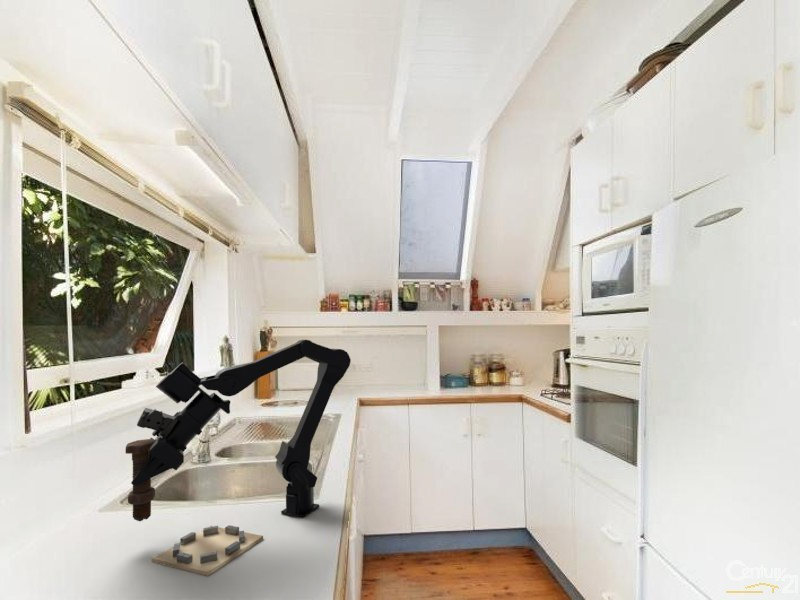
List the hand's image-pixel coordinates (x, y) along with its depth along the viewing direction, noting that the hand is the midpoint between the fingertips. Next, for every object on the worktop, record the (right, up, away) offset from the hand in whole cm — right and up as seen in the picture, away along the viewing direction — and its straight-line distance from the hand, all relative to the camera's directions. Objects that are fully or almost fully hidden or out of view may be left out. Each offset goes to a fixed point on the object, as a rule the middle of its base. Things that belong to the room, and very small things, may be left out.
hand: (133, 481), depth 86 cm
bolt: (+1, -8, 0) cm, 8 cm away
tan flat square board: (+16, -12, -2) cm, 20 cm away
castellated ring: (+16, -12, -2) cm, 20 cm away
